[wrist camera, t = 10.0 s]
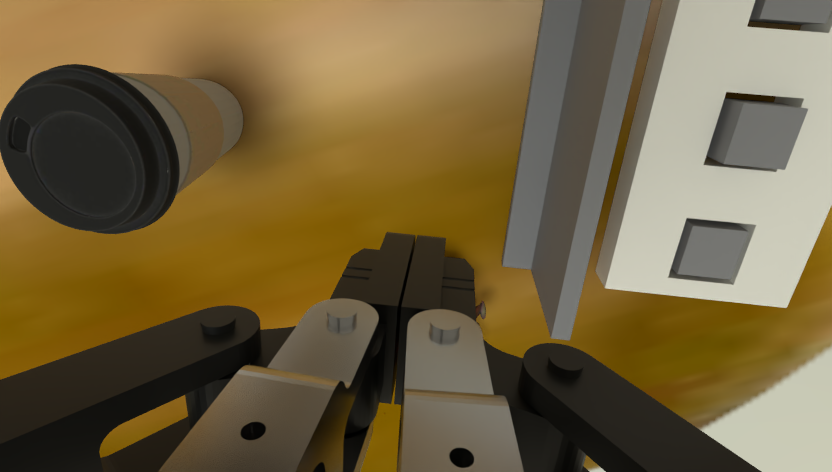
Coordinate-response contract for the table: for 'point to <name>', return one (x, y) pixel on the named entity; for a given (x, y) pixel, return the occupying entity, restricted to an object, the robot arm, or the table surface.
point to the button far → (709, 248)
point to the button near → (791, 11)
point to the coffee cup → (113, 143)
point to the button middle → (756, 133)
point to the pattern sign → (570, 144)
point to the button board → (709, 179)
